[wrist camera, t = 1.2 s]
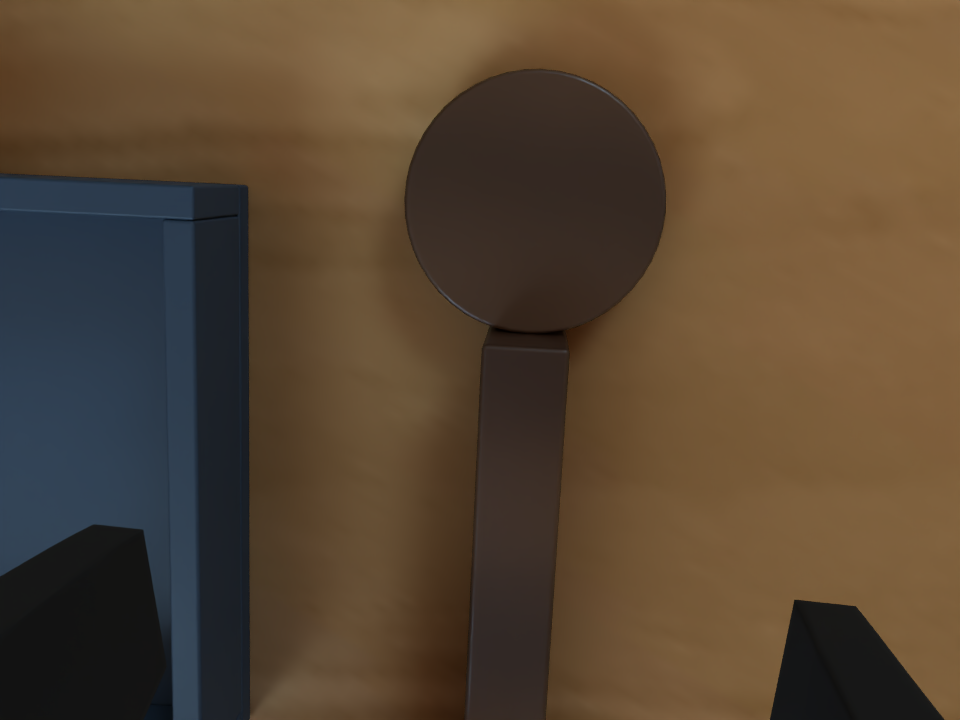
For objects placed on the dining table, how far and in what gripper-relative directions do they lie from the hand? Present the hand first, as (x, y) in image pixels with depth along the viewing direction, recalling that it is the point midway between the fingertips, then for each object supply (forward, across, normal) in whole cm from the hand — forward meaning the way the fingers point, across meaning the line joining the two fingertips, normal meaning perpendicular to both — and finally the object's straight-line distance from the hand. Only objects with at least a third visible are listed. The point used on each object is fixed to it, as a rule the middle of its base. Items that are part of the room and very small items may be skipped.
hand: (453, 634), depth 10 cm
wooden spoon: (+9, 0, +4) cm, 10 cm away
